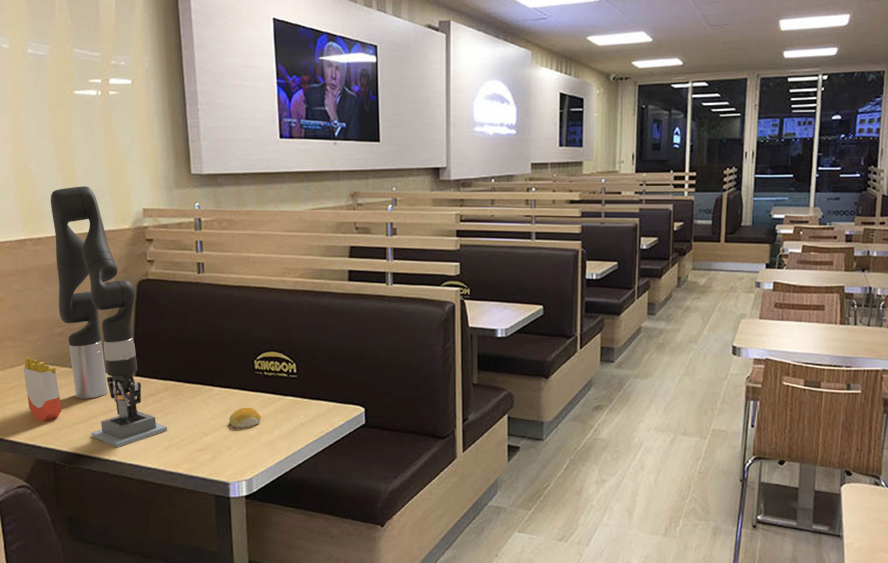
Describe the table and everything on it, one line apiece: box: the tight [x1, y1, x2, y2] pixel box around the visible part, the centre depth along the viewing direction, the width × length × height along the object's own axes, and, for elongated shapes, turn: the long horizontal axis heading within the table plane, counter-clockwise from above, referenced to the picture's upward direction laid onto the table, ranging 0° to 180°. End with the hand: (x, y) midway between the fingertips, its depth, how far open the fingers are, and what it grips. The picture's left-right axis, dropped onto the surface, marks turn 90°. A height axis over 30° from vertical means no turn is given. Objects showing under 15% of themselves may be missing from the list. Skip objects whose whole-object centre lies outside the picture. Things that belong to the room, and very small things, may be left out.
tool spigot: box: [117, 392, 136, 426], centre depth 195 cm, size 4×4×10 cm
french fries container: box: [23, 356, 62, 422], centre depth 211 cm, size 5×11×18 cm, turn 54°
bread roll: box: [228, 407, 262, 429], centre depth 200 cm, size 8×9×4 cm
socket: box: [91, 410, 168, 448], centre depth 195 cm, size 14×14×4 cm
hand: (127, 416), depth 195 cm, fingers open, 5 cm apart
